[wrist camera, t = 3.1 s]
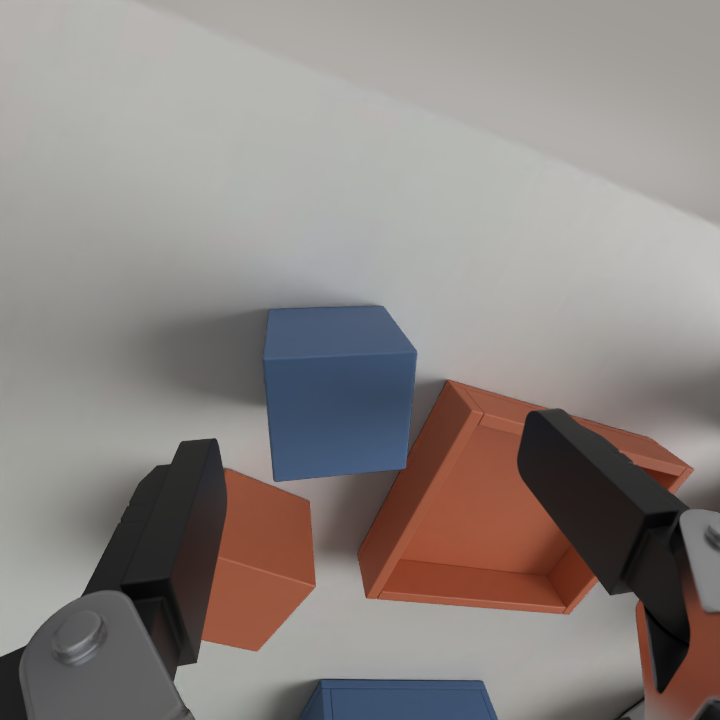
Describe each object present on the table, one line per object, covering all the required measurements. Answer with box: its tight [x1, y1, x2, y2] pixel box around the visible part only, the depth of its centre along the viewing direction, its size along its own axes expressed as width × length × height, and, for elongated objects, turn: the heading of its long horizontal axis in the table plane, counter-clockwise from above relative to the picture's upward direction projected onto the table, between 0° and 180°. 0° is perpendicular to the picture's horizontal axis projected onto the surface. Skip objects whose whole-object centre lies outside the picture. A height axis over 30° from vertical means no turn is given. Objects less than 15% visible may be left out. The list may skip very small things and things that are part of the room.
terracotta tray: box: [358, 380, 694, 614], centre depth 20 cm, size 13×11×2 cm
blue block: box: [262, 306, 417, 482], centre depth 14 cm, size 4×4×4 cm
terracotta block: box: [201, 469, 316, 651], centre depth 16 cm, size 4×4×4 cm
